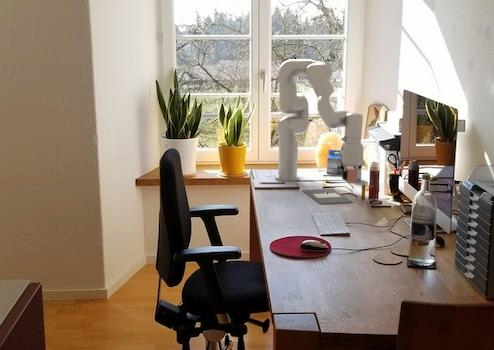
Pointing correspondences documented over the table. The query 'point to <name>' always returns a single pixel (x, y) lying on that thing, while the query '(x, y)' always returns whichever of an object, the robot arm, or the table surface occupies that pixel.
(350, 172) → the card box
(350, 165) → the medicine box
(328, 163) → the label tape box
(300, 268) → the table surface
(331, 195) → the mat
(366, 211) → the table surface
